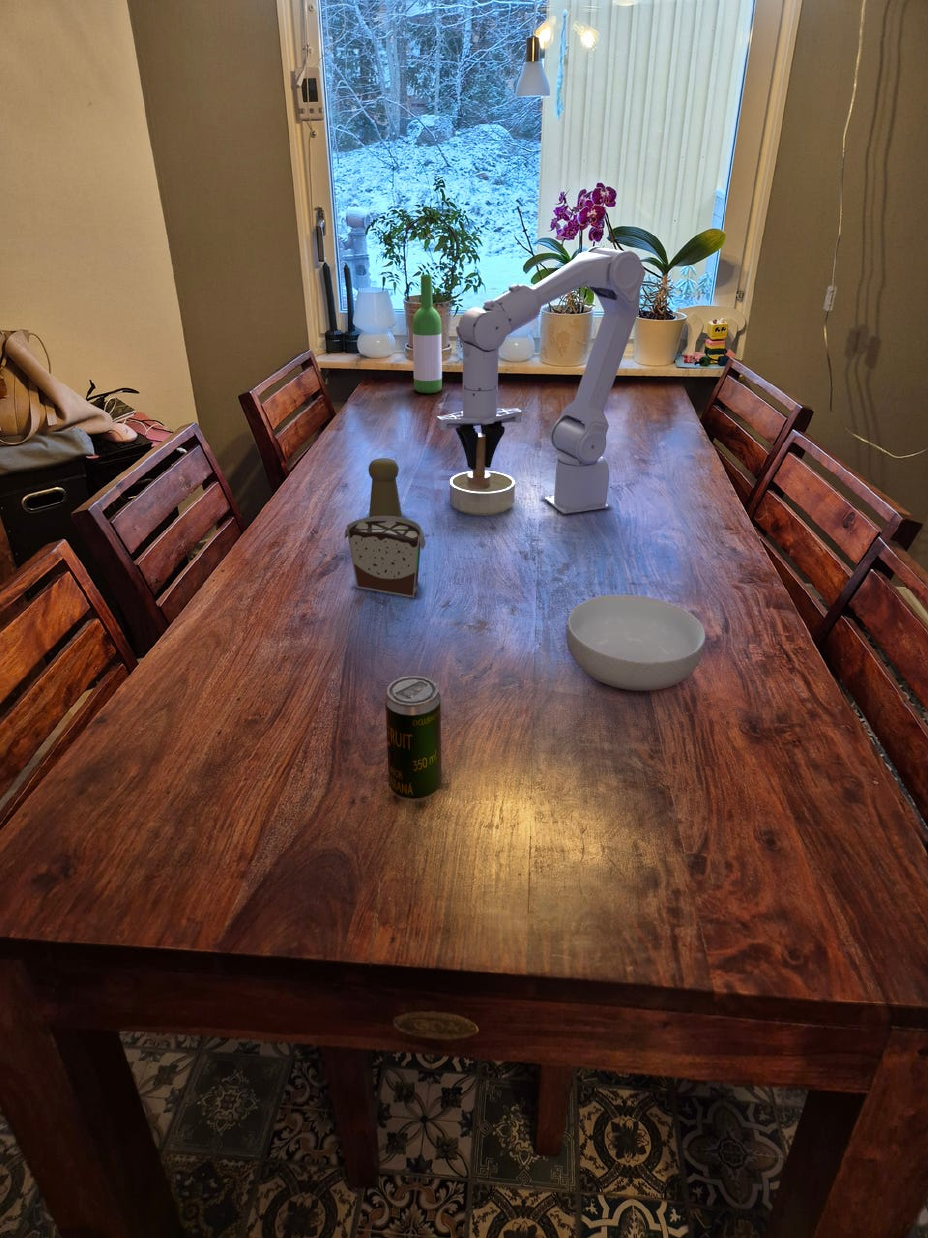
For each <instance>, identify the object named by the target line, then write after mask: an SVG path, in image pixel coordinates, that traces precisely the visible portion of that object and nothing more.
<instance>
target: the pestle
mask: <svg viewBox="0 0 928 1238" xmlns="http://www.w3.org/2000/svg"><path fill="white" fill-rule="evenodd" d="M477 433H478V434H479V436H478V441H477V448H476V469H474V470H472V471H473V472H470V471H469V472H470V473H468V474H467V486H468V487H469V488H471V489H476V490H482V489H487V488H489V487H490V474H489V473H488V472H485V471H486V467H485V462H486V434H483V433H482V432H477Z"/></svg>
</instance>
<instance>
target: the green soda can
mask: <svg viewBox="0 0 928 1238" xmlns="http://www.w3.org/2000/svg"><path fill="white" fill-rule="evenodd" d="M441 701H442V699H441V694H440V693H439V687H438V685H437V684H436V682H435V681H433V680H431V679H430V678H428V677H424V676H419V675H407V676H403V677H399V678H397V679H394V680H393V681H392V682H391V683H389V684H388V686H387V688H386V694H385V697H384V708H385V729H386V750H387V752H386V753H387V770H388V786H389V788H390V790H391V791H392V793H393V794H394V795H395V797H397V798H398V799H399V800H401V801H404V802H409V803H421V802H424V801H427V800H429V799H431V798H433V797H434V796H435V795H436V794H437V792H438V790H439V789H440V786H441V784H442V718H441V717H442V713H441V712H442V711H441V710H442V709H441V708H442V707H441V706H442V705H441V703H442V702H441Z"/></svg>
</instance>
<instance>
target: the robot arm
mask: <svg viewBox="0 0 928 1238" xmlns="http://www.w3.org/2000/svg"><path fill="white" fill-rule="evenodd" d="M646 274H647V273H646V270H645V268H644V265H643V263H642V261H641V258H640V257H639V255H638V254H637V253H636V252H634V251H632V250H618V249H612V248H606V247H603V246H597V245H595V246H592V247H590V248H589V249H587V250H586V251H582V252H580V253H578V254H577V255H576V256H575V257H574V258H573V259H572V260H571V261H569V262H568V263H566V264H565V265H563V266H562V267H560V268H559V269H557V270H556V271H554V272H553V273H551V274H549V275H548V276H546V277H545V278H543V279H541V280H540V281H539V282H537V283H535V284H534V285H533V286H530V285H527V284H524V283H521V284H517V283H513V284H511V285H510V286H508V291H507V292H505V293H503V294H502V295H500V296H498V297H495V298H494V299H487V300H485V301H484V302H483V304H484V305H483V306H482V308H480V307H472V308H469V309H467V310H465V312H463V314H462V316H461V317H460V319H459V322H458V325H456V326H455V332H456V335H457V338H458V339H459V341H460V342H461V344H462V411H457V412H453V413H449V414H444V415H437V416H436V428H437V429H438V430H439V431H440V432H442V431H447V430H448V429H449V430H451V429H455V432H456V434H457V436H458V438H459V440H460V443H461V446H462V448H463V452H464V454H465V458H466V465H467V468H468V469H470V470H471V471H473V470H474V469H476V448H477V441H478V436H479V434H478V433H479V432H477V431H476V428H475V427H478V426H480V431H481V432H480V433H483V434H486V462H485V469H489V468H491V466H492V462H493V458H494V455H495V452H496V450H497V447H498V445H499V443H500V441H501V439H502V437H503V436H504V434H505V431H506V429H505V426H504V425H503V424H508V423H515V424H518V423H519V424H520V423H522V415H523V413H522V410H521V409H519V408H517V407H516V408H515V407H514V408H498V391H499V390H498V388H499V387H498V383H499V351H500V350H499V349H500V348H501V347H502V345H504V343H505V340H506V338H507V336H508V335H510V334H513V333H514V332H515V331H518V330H519V329H521V328H522V327H524V326H526V325H528V324H529V323H531V322H532V321H534V320H536V319H538V318H539V316H540V313H541V310H542V307H543V306H545V305H548V304H550V303H552V302H554V301H556V300H557V299H560V298H561V297H564V296H566V295H567V294H569V293H571V292H574V291H576V290H578V289H579V288H582V287H587V289H589V290H590V291H591V292H592V293H593V294H594V296H596V297H597V299H598V301H599V303H600V305H601V307H602V309H603V314H602V318H601V321H600V324H599V326H598V330H597V332H596V336H595V339H594V341H593V344H592V347H591V350H590V354H589V356H588V359H587V362H586V364H585V368H584V371H583V374H582V375H581V379H580V382H579V386H578V389H577V392H576V394H575V397H574V400H573V401H572V402H571V403H570V404H568V405H567V406H565V407H563V409H562V411H561V413H560V416H559V418H558V419H557V421H555V423H554V424H553V426H552V428H551V430H550V434H549V439H550V443H551V445H552V446H553V448H555V456H556V461H555V463H556V464H555V466H556V467H555V476H554V477H555V478H554V492H553V495H552V496H545V498H544V499H545V501H546V502H547V503H549V504H550V505H551V506H552V507H553V508H555V509H556V510H557V511H559V512H560V513H561V514H563V515H567V514H574V513H581V512H588V511H596V510H602V509H608V508H609V505H608V504H607V501H608V493H609V482H610V468H609V464H608V463H609V462H608V461H607V460H606V459H605V457H604V456H603V455H604V453H605V451H606V448H607V434H608V430H609V427H610V425H609V422H608V420H607V417H606V415H605V408H606V404H607V402H608V399H609V397H610V394H611V390H612V388H613V385H614V382H615V380H616V376H617V373H618V372H619V368H620V365H621V362H622V359H623V357H624V354H625V352H626V348H627V346H628V343H629V340H630V337H631V334H632V331H633V329H634V325H635V323H636V320H637V317H638V314H639V311H640V303H641V302H640V301H641V289H642V285H643V282H644V279H645V277H646Z"/></svg>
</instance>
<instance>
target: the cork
mask: <svg viewBox="0 0 928 1238" xmlns="http://www.w3.org/2000/svg"><path fill="white" fill-rule="evenodd" d="M399 472H400V471H399V465H398V463H397V461H396V460H395V459H392V458H388V457H381V458H375V459H373V460H372V461H370V463H369V465H368V474H369V477H370V479H371V489H370V502H369V512H368V517H373V516H396V517H402V518H403V514H402V507H401V501H400V495H399V490H398V484H397V477H398V475H399Z"/></svg>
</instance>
